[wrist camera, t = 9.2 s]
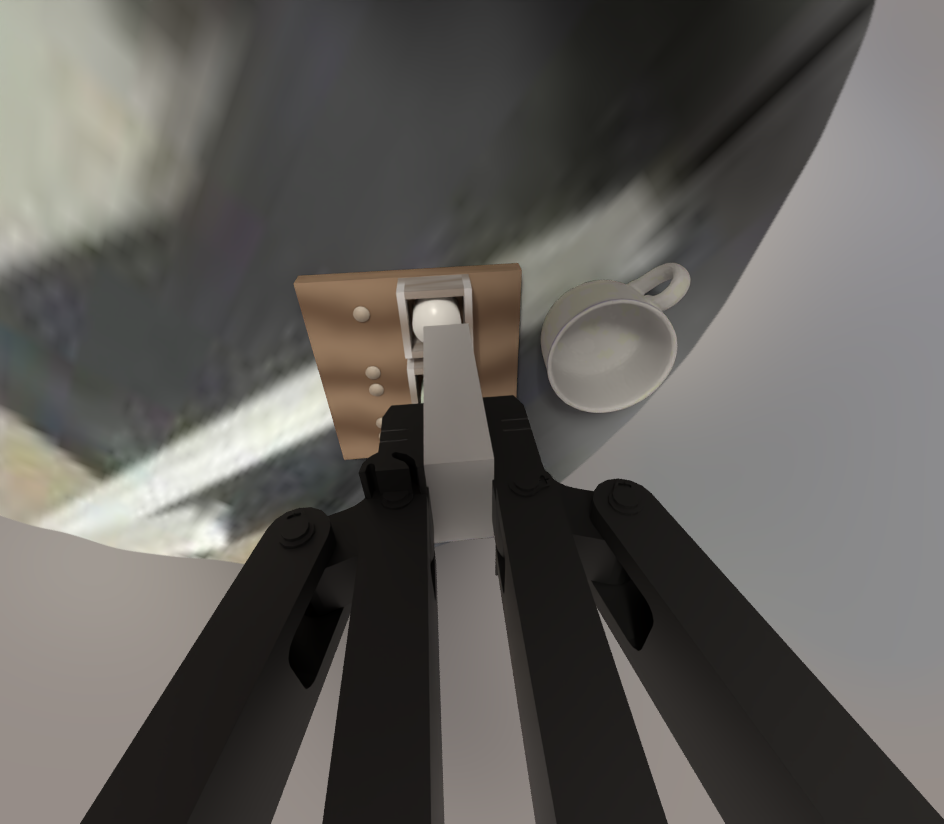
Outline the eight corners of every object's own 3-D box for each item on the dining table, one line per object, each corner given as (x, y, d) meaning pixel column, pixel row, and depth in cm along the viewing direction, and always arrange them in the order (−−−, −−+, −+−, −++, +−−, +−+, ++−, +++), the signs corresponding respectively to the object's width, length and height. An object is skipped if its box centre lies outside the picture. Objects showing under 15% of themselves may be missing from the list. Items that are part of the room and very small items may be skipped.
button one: (410, 289, 36) (409, 303, 34) (457, 286, 36) (460, 300, 34) (415, 332, 39) (415, 348, 36) (459, 329, 39) (462, 345, 36)
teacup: (572, 386, 46) (596, 433, 40) (507, 323, 41) (522, 366, 35) (688, 297, 41) (736, 335, 35) (630, 212, 36) (675, 239, 30)
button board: (298, 275, 37) (283, 298, 33) (517, 263, 38) (529, 284, 34) (346, 448, 49) (339, 480, 45) (511, 435, 50) (519, 465, 46)
